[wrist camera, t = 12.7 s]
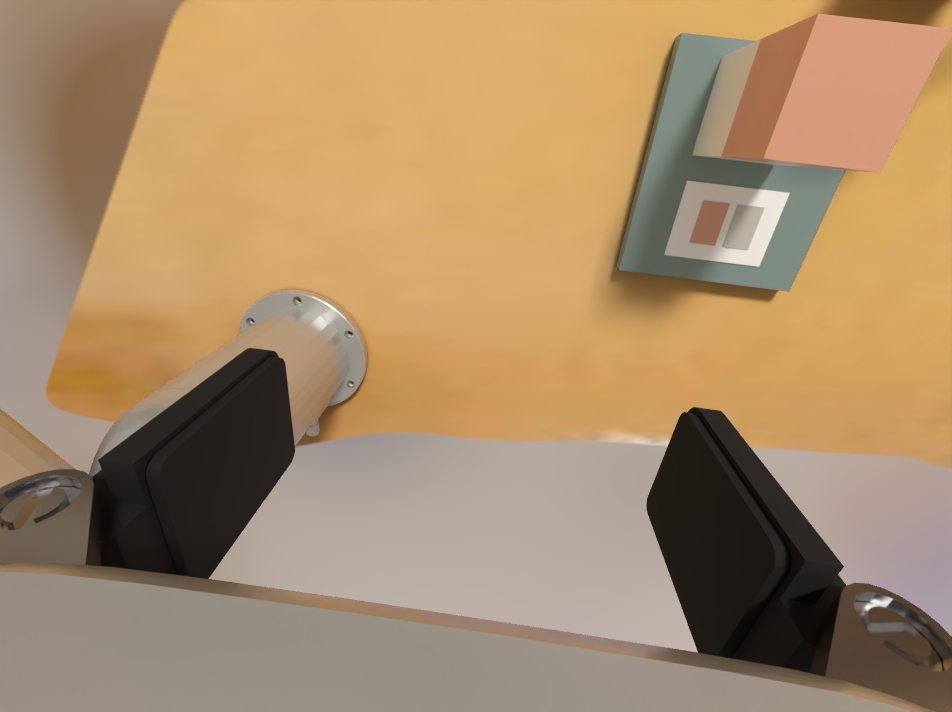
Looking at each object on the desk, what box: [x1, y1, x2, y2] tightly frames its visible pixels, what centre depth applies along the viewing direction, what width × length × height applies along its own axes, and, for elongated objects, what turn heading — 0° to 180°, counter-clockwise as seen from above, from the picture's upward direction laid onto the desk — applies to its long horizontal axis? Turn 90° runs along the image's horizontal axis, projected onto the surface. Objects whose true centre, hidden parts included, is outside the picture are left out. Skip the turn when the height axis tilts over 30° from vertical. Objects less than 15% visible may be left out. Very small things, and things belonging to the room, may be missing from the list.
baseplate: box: [616, 33, 845, 292], centre depth 29 cm, size 16×14×7 cm
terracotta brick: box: [721, 14, 952, 172], centre depth 23 cm, size 6×6×5 cm
